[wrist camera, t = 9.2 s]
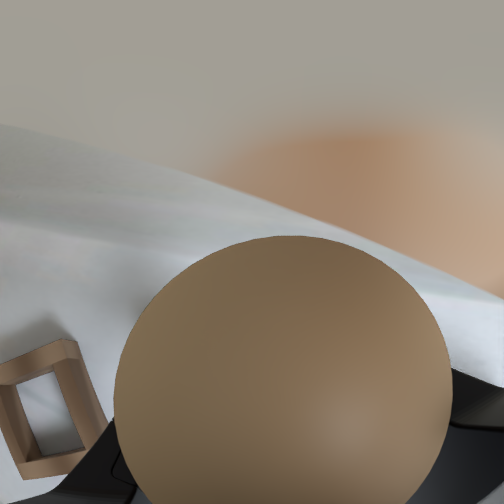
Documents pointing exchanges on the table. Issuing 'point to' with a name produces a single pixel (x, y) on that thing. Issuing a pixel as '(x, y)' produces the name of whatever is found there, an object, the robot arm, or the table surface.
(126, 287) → the table surface
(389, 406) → the oak axle peg
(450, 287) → the table surface
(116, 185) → the table surface
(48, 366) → the walnut collar block
